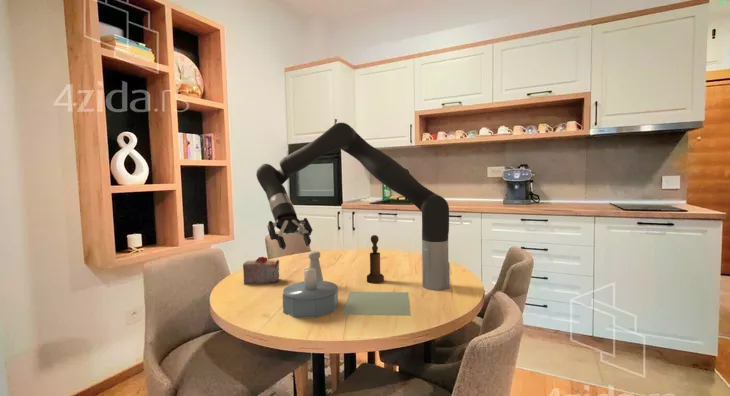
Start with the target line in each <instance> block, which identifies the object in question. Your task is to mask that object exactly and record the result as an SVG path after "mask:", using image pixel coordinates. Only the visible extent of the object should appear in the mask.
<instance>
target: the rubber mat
mask: <svg viewBox="0 0 730 396" xmlns="http://www.w3.org/2000/svg"><path fill="white" fill-rule="evenodd" d="M343 306H344V307H343V309H342V311H341V313H340V315H344V316H345V315H346V316H347V315H348V316H349V315H350V316H351V315H353V316H359V315H360V316H402V317H403V316H409V317H410V316H411V308H410V297H409V292H405V291H404V292H402V291H400V292H399V291H398V292H397V291H392V292H391V291H387V292H386V291H350V292H349V294H348V297H347V299H346V302H345V304H344V305H343Z"/></svg>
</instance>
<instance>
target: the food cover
mask: <svg viewBox="0 0 730 396" xmlns="http://www.w3.org/2000/svg"><path fill="white" fill-rule="evenodd" d="M303 273H304V274H303V275H304V281H299V282H294V283H292V284H289V285H287V286H286V287H284V288H283V293H282V311H283V314H286V315H287V316H290V317H292V318H301V319H302V318H304V319H305V318H307V319H308V318H309V319H311V318H312V319H317V318H319V317H322V316H323V317H324V316H325V315H329V314H332V313H335V312H336V309H337V308H338V305H339V289H338V284H336V283H334V282H331V281H327V280H323V281H316V269H314V268H309V267H308V268H305V269H304V270H303Z"/></svg>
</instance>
